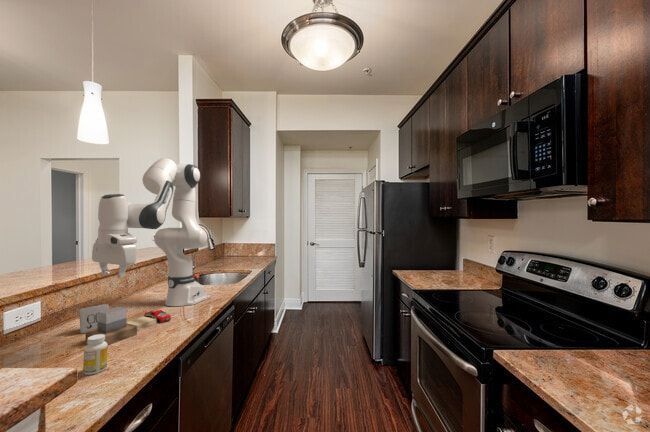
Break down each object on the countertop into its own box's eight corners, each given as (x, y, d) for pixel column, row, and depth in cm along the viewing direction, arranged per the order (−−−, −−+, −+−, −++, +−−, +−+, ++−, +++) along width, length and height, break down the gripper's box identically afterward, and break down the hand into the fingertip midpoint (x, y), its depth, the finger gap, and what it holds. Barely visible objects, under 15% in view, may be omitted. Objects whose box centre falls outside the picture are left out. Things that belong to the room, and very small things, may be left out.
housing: (97, 331, 103) (97, 312, 103) (117, 325, 109) (118, 306, 109) (105, 333, 101) (106, 313, 101) (126, 327, 107) (126, 308, 107)
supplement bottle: (85, 377, 79) (86, 342, 79) (81, 370, 82) (81, 337, 82) (109, 369, 83) (110, 336, 83) (104, 363, 86) (105, 331, 86)
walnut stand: (118, 330, 112) (118, 322, 112) (136, 334, 108) (136, 326, 108) (85, 340, 102) (85, 332, 102) (104, 346, 98) (104, 337, 98)
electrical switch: (80, 334, 108) (80, 309, 108) (77, 332, 111) (77, 308, 111) (110, 327, 115) (110, 304, 116) (106, 325, 118) (106, 302, 119)
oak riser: (143, 321, 122) (143, 316, 122) (156, 324, 119) (156, 319, 119) (123, 327, 115) (124, 322, 115) (137, 330, 112) (137, 325, 112)
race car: (173, 320, 124) (173, 311, 124) (161, 324, 119) (161, 315, 119) (154, 315, 130) (154, 306, 130) (142, 319, 125) (142, 310, 125)
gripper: (86, 237, 107) (86, 274, 107) (121, 239, 99) (121, 280, 99) (105, 236, 112) (105, 271, 112) (140, 238, 104) (139, 276, 104)
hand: (113, 275), depth 105 cm, fingers open, 8 cm apart
